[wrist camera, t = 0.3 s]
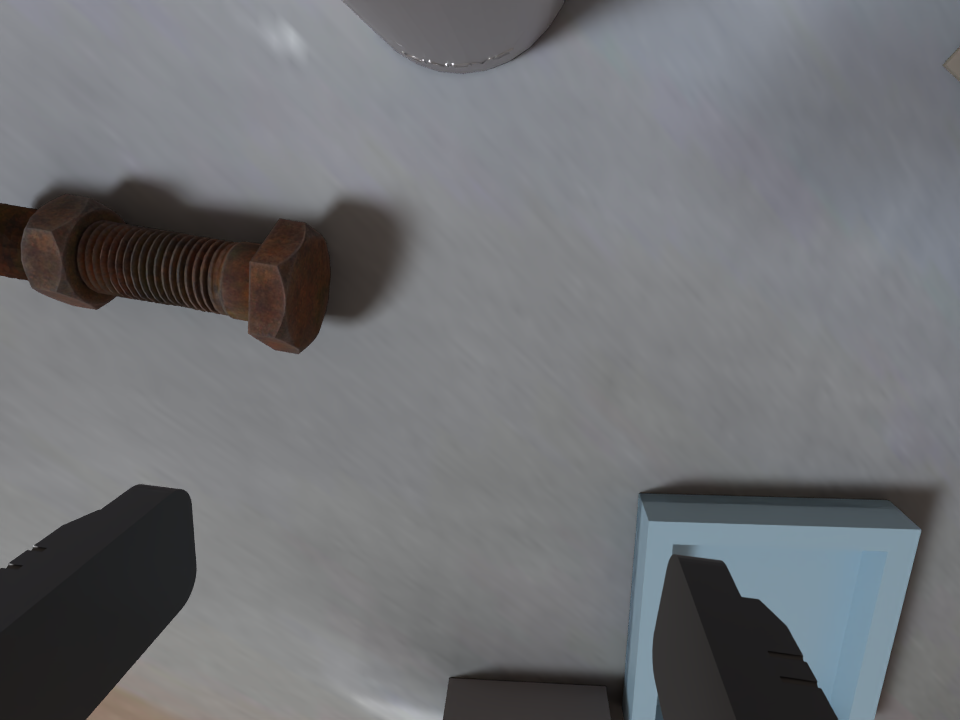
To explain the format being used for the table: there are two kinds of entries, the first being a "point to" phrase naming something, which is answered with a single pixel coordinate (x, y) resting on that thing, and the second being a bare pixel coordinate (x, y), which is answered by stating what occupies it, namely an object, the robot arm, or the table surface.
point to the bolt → (171, 267)
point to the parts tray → (783, 582)
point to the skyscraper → (954, 64)
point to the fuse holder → (524, 701)
